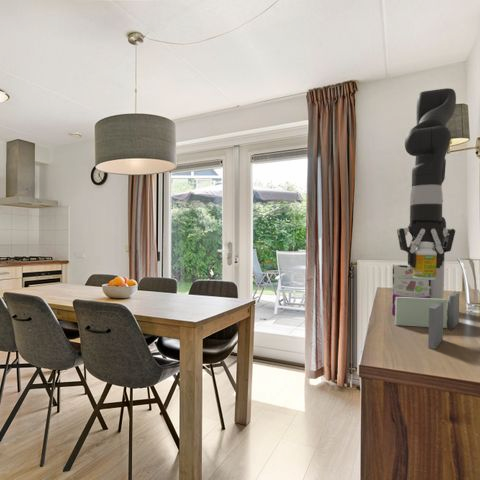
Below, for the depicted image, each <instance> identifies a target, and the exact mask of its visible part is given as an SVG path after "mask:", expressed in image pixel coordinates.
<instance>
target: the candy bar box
mask: <svg viewBox="0 0 480 480" xmlns="http://www.w3.org/2000/svg"><path fill="white" fill-rule="evenodd" d="M391 275H392V281H391V282H392V283H391V284H392V289H391V291H392V292H391V311H392V312H391V314H392V315H393V316H395V301H396V297H412V298H430V289H431V280H423V279H415V278H413V268H412V267H410V265H408V264H392V274H391Z"/></svg>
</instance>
